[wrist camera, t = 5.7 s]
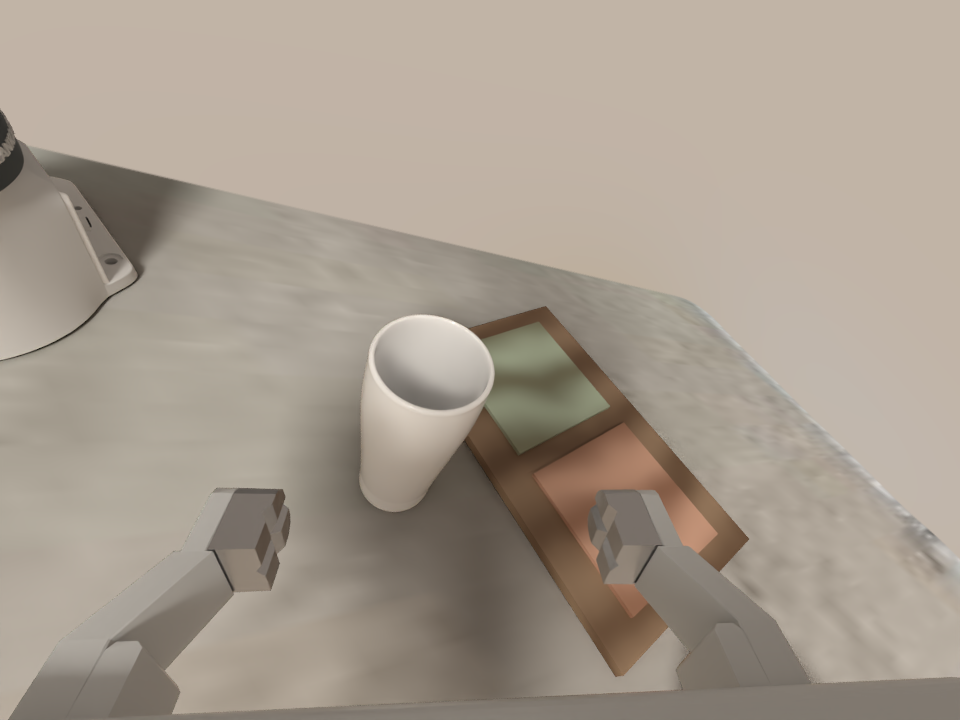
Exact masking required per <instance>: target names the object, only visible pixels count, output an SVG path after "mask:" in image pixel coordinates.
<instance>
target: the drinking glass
mask: <svg viewBox="0 0 960 720" xmlns="http://www.w3.org/2000/svg"><path fill="white" fill-rule="evenodd" d="M494 377H495V369H494V363H493V360H492V357H491V355H490V353H489V351H488V349H487V347H486V346H485V345H484V343H483V342H482V341H481V340H480V339H479V338H478V337H477V336H476V335H475V334H474V333H473V332H472V331H470V330H469V329H468V328H466V327H464V326H463V325H461V324H459V323H457V322H455V321H453V320H450V319H447V318H444V317H440V316H435V315H425V314H418V315H410V316H405V317H401V318H398V319H396V320H394V321H392V322H390V323H388V324H387V325H385V326H384V327H383V328H382V329H381V330H380V331H379V332H378V333H377V334H376V336H375V337H374V339H373V341H372V343H371V345H370V349H369V354H368V358H367V362H366V366H365V371H364V376H363V382H362V391H361V404H360V426H361V466H360V472H359V484H360V488H361V491H362V493H363V495H364V496H365V498H366V499H367V500H368V501H369V502H370V503H371V504H372V505H373V506H375V507H376V508H378V509H381V510H383V511H387V512H401V511H405V510H408V509H410V508H412V507H414V506H415V505H417V504H418V503H419V502H420V501H421V500H422V499H423V498H424V496H425V495H426V493H427V491H428V490H429V488H430V486H431V484H432V483H433V482H434V480H435V479H436V477H437V476H438V475H439V473H440V472H441V471H442V469H443V468H444V467H445V465H446V464H447V463H448V461H449V460H450V459H451V457H452V456H453V455H454V454H455V452H456V451H457V450H458V448H459V447H460V446H461V444H462V443H463V441H464V440H465V439H466V437H467V436H468V434H469V433H470V431H471V429H472V428H473V426H474V424H475V423H476V421H477V419H478V417H479V415H480V413H481V411H482V409H483V407H484V405H485V403H486V400H487V398H488V396H489V393H490V391H491V389H492V386H493V383H494Z"/></svg>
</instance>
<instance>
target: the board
mask: <svg viewBox="0 0 960 720" xmlns="http://www.w3.org/2000/svg"><path fill="white" fill-rule="evenodd" d="M468 329H469V330H470V331H472V332H473V333H474V334H475V335H476V336H477V337H478V338H479V339H480V340H481V341H482V342H483V343H484V345H485V346H486V347H487V349H488V351H489V353H490V355H491V357H492V360H493V363H494V369H495V377H494V383H493V386H492V389H491V391H490V393H489V396H488V398H487V400H486V403H485V405H484V407H483V409H482V411H481V413H480V415H479V417H478V419H477V421H476V423H475V424H474V426H473V428H472V429H471V431H470V433H469V434H468V436H467V437H466V439H465V442H466V443H467V445H468V446H469V448H470V450H471V451H472V453H473V454H474V456H475V457H476V459H477V461H478V462H479V464H480V465H481V467H482V468H483V470H484V471H485V473H486V475H487V476H488V478H489V479H490V481H491V482H492V484H493V486H494V487H495V489H496V490H497V492H498V493H499V495H500V497H501V498H502V500H503V501H504V503H505V504H506V506H507V507H508V509H509V511H510V512H511V514H512V515H513V517H514V518H515V520H516V522H517V523H518V525H519V526H520V528H521V529H522V531H523V532H524V534H525V536H526V537H527V539H528V540H529V542H530V543H531V545H532V547H533V548H534V550H535V551H536V553H537V554H538V556H539V558H540V559H541V561H542V562H543V564H544V565H545V567H546V568H547V570H548V572H549V573H550V575H551V576H552V578H553V579H554V581H555V583H556V584H557V586H558V587H559V589H560V590H561V592H562V594H563V595H564V597H565V598H566V600H567V601H568V603H569V604H570V606H571V608H572V609H573V611H574V612H575V614H576V615H577V617H578V619H579V620H580V622H581V623H582V625H583V626H584V628H585V629H586V631H587V633H588V634H589V636H590V637H591V639H592V640H593V642H594V644H595V645H596V647H597V648H598V650H599V651H600V653H601V655H602V656H603V658H604V659H605V661H606V662H607V664H608V665H609V667H610V669H611V670H612V672H613V673H614V675H615V676H616V677H617V676H624V674H625V673H626V672H627V671H628V670H629V669H630V668H631V667H632V666H633V665H634V664H635V663H636V661H637V660H638V659H639V658H640V657H641V656H642V655H643V654H644V653H645V652H646V651H647V650H648V648H649V647H650V646H651V645H652V644H653V643H654V642H655V641H656V640H657V639H658V638H659V636H660V635H661V634H662V633H663V632H664V631H665V630H666V629H667V628H668V625H667V624H666V623H665V622H664V621H663V619H662V618H661V617H660V616H659V615H658V614H657V612H656V611H655V610H654V609H653V608H652V606H651V605H650V604H649V603H648V602H647V600H646V599H645V598H644V597H643V596H642V595H641V593H640V592H639V591H638V590H637V589H636V587H635V584H603V581H602V578H601V574H600V571H599V568H598V564H597V561H596V558H597V556H598V553H599V550H598V549H597V548H596V547H595V546H594V545H593V544H592V543H591V540H590V537H589V532H588V514H589V511H590V509H591V508H592V507H593V506H595V505H596V501H595V496H596V494H597V492H598V491H599V490H622V489H634V490H655V491H656V492H657V493H658V494H659V497H660V499H661V501H662V503H663V505H664V507H665V509H666V511H667V513H668V515H669V517H670V519H671V521H672V523H673V525H674V528H675V530H676V532H677V534H678V536H679V538H680V540H681V542H682V544H683V546H689V547H690V548H692V549H693V550H694V551H695V552H696V553H697V554H699V555H700V556H701V557H702V558H703V559H704V560H706V561H707V562H708V563H709V564H710V565H711V566H713V567H714V568H715V569H716V570H717V571H718V572H719V571H720V570H721V569H722V568H723V567H724V566H725V565H726V564H727V563H728V562H729V561H730V559H731V558H732V557H733V556H734V555H735V554H736V553H737V552H738V551H739V550H740V549H741V548H742V546H743V545H744V544H745V543H746V542H747V541H748V540H749V538H748V537H747V536H746V535H745V534H744V532H743V531H742V530H741V529H740V528H739V527H738V526H737V524H736V523H735V522H734V521H733V520H732V519H731V518H730V516H729V515H728V514H727V513H726V512H725V511H724V510H723V508H722V507H721V506H720V505H719V504H718V503H717V502H716V500H715V499H714V498H713V497H712V496H711V495H710V494H709V492H708V491H707V490H706V489H705V488H704V487H703V486H702V484H701V483H700V482H699V481H698V480H697V479H696V478H695V476H694V475H693V474H692V473H691V472H690V471H689V469H688V468H687V467H686V466H685V465H684V464H683V463H682V461H681V460H680V459H679V458H678V457H677V456H676V455H675V453H674V452H673V451H672V450H671V449H670V448H669V447H668V445H667V444H666V443H665V442H664V441H663V440H662V439H661V437H660V436H659V435H658V434H657V433H656V432H655V431H654V429H653V428H652V427H651V426H650V425H649V424H648V423H647V421H646V420H645V419H644V418H643V417H642V416H641V415H640V413H639V412H638V411H637V410H636V409H635V408H634V407H633V405H632V404H631V403H630V402H629V401H628V400H627V399H626V397H625V396H624V395H623V394H622V393H621V392H620V391H619V389H618V388H617V387H616V386H615V385H614V384H613V383H612V381H611V380H610V379H609V378H608V377H607V376H606V374H605V373H604V372H603V371H602V370H601V369H600V368H599V366H598V365H597V364H596V363H595V362H594V361H593V360H592V358H591V357H590V356H589V355H588V354H587V353H586V352H585V350H584V349H583V348H582V347H581V346H580V345H579V344H578V342H577V341H576V340H575V339H574V338H573V337H572V336H571V334H570V333H569V332H568V331H567V330H566V329H565V328H564V326H563V325H562V324H561V323H560V322H559V321H558V320H557V318H556V317H555V316H554V315H553V314H552V313H551V312H550V310H549V309H548V308H547V307H546V306H545V307H541V308H538V309H534V310H531V311H527V312H524V313H521V314H517V315H514V316H510V317H507V318H503V319H500V320H496V321H493V322H489V323H486V324H482V325H479V326H475V327H472V328H468Z"/></svg>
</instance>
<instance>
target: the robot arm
mask: <svg viewBox="0 0 960 720" xmlns="http://www.w3.org/2000/svg"><path fill="white" fill-rule="evenodd" d="M136 278H137V272H136V270H135V268H134V267H133V265H132V263H131V262H130V261H129V259H128V258H127V256H126V255H125V254H124V252H123V251H122V250H121V248H120V247H119V245H118V244H117V243H116V241H115V240H114V238H113V237H112V236H111V234H110V233H109V231H108V230H107V229H106V227H105V226H104V225H103V223H102V222H101V220H100V219H99V218H98V216H97V215H96V213H95V212H94V211H93V209H92V208H91V207H90V205H89V204H88V202H87V201H86V200H85V198H84V197H83V195H82V194H81V193H80V191H79V190H78V189H77V187H76V186H75V185H74V184H73V183H72V182H71V181H69V180H66V179H62V178H58V177H53V176H48V174H47V173H46V172H45V170H44V169H43V167H42V166H41V165H40V163H39V162H38V160H37V159H36V158H35V156H34V155H33V154H32V152H31V151H30V150H29V148H28V147H27V146H26V144H24V143H23V142H21V141H19V140H17V139H16V138H15V136H14V131H13V129H12V127H11V125H10V123H9V122H8V120H7V118H6V117H5V115H4V113H3V112H2V111H1V110H0V360H4V359H7V358H11V357H15V356H18V355H21V354H24V353H27V352H30V351H33V350H36V349H38V348H41V347H43V346H45V345H48V344H50V343H52V342H54V341H56V340H58V339H60V338H62V337H63V336H65V335H67V334H68V333H70V332H72V331H73V330H74V329H76V328H77V327H79V326H80V325H81V324H83V323H84V322H85V321H86V320H87V319H88V318H89V317H90V316H91V315H92V314H93V313H94V312H95V311H96V309H97V308H98V307H99V306H100V305H101V303H102V302H103V301H104V300H105V299H106V298H108V297H109V296H110V295H112V294H114V293H116V292H118V291H120V290H121V289H123V288H125V287H127V286H128V285H130V284H131V283H133V282H134V281H135V280H136ZM284 500H285V494H284V491H283V489H257V488H216V489H215V490H214V491H213V492H212V493H211V494H210V496H209V498H208V500H207V502H206V503H205V505H204V507H203V509H202V511H201V513H200V515H199V517H198V519H197V521H196V522H195V524H194V526H193V528H192V530H191V532H190V534H189V536H188V538H187V540H186V541H185V543H184V545H183V547H182V549H181V551H173V552H172V553H171V554H170V555H168V556H167V557H166V558H164V559H163V560H162V561H161V562H159V563H158V564H157V565H156V566H154V567H153V568H152V569H150V570H149V571H148V572H147V573H145V574H144V575H143V576H142V577H140V578H139V579H138V580H136V581H135V582H134V583H133V584H131V585H130V586H129V587H128V588H126V589H125V590H124V591H122V592H121V593H120V594H119V595H117V596H116V597H115V598H114V599H112V600H111V601H110V602H108V603H107V604H106V605H105V606H103V607H102V608H101V609H99V610H98V611H97V612H96V613H94V614H93V615H92V616H91V617H89V618H88V619H87V620H85V621H84V622H83V623H82V624H80V625H79V626H78V627H77V628H75V629H74V630H73V631H71V632H70V633H69V634H68V635H66V636H65V637H64V638H63V639H61V640H60V641H59V642H58V644H57V645H56V647H55V648H54V650H53V652H52V653H51V655H50V656H49V658H48V659H47V661H46V662H45V664H44V665H43V667H42V668H41V670H40V672H39V673H38V675H37V676H36V678H35V679H34V681H33V682H32V684H31V685H30V687H29V688H28V690H27V692H26V693H25V695H24V696H23V698H22V699H21V701H20V702H19V704H18V705H17V707H16V708H15V710H14V711H13V713H12V715H11V716H10V718H9V719H8V720H960V678H956V677H944V678H922V679H901V680H880V681H859V682H838V683H818V684H811V682H810V680H809V678H808V677H807V675H806V673H805V671H804V670H803V668H802V666H801V664H800V663H799V661H798V659H797V657H796V656H795V654H794V652H793V650H792V649H791V647H790V645H789V643H788V642H787V640H786V638H785V636H784V635H783V633H782V631H781V629H780V628H779V626H778V624H777V622H776V621H775V620H774V619H773V618H772V617H771V616H770V615H769V614H767V613H766V612H765V611H764V610H763V609H762V608H760V607H759V606H758V605H757V604H756V603H755V602H753V601H752V600H751V599H750V598H749V597H748V596H746V595H745V594H744V593H743V592H742V591H741V590H739V589H738V588H737V587H736V586H735V585H734V584H732V583H731V582H730V581H729V580H728V579H727V578H725V577H724V576H723V575H722V574H721V573H720V572H718V571H717V570H716V569H715V568H714V567H713V566H711V565H710V564H709V563H708V562H707V561H706V560H704V559H703V558H702V557H701V556H700V555H699V554H697V553H696V552H695V551H694V550H693V549H692V548H690V547H689V546H683V544H682V542H681V540H680V538H679V536H678V534H677V532H676V530H675V528H674V525H673V523H672V521H671V519H670V517H669V515H668V513H667V511H666V509H665V507H664V505H663V503H662V501H661V499H660V497H659V494H658V493H657V492H656V491H655V490H634V489H622V490H599V491H598V492H597V494H596V496H595V501H596V505H595V506H593V507H592V508H591V509H590V511H589V514H588V532H589V537H590V540H591V543H592V544H593V545H594V546H595V547H596V548H597V549H598V550H599V553H598V556H597V558H596V561H597V564H598V568H599V571H600V574H601V578H602V581H603V584H635V587H636V589H637V590H638V591H639V592H640V593H641V595H642V596H643V597H644V598H645V599H646V600H647V602H648V603H649V604H650V605H651V606H652V608H653V609H654V610H655V611H656V612H657V614H658V615H659V616H660V617H661V618H662V619H663V621H664V622H665V623H666V624H667V625H668V627H669V628H670V629H671V630H672V631H673V633H674V634H675V635H676V636H677V637H678V638H679V640H680V641H681V642H682V643H683V644H684V646H685V647H686V648H687V649H688V650H689V652H690V653H689V654H688V655H687V657H686V658H685V659H684V660H683V661H682V662H681V663H680V664H679V666H678V668H677V670H676V672H677V674H678V677H679V680H680V683H681V685H682V688H683V690H671V691H650V692H629V693H608V694H587V695H566V696H545V697H524V698H504V699H483V700H462V701H441V702H420V703H399V704H378V705H357V706H336V707H315V708H295V709H274V710H253V711H232V712H211V713H190V714H172V712H173V709H174V707H175V704H176V702H177V699H178V697H179V694H180V690H179V688H178V686H177V684H176V683H175V682H174V681H173V680H172V679H171V678H170V677H169V675H168V674H167V673H166V672H165V670H166V668H167V667H168V666H169V665H170V664H171V663H172V662H173V661H174V660H175V659H176V657H177V656H178V655H179V654H180V653H181V652H182V651H183V650H184V649H185V648H186V647H187V645H188V644H189V643H190V642H191V641H192V640H193V639H194V638H195V637H196V636H197V634H198V633H199V632H200V631H201V630H202V629H203V628H204V627H205V626H206V625H207V623H208V622H209V621H210V620H211V619H212V618H213V617H214V616H215V615H216V614H217V612H218V611H219V610H220V609H221V608H222V607H223V606H224V605H225V604H226V603H227V602H228V600H229V599H230V598H231V597H232V596H233V595H234V593H233V592H251V591H271V589H272V586H273V583H274V580H275V577H276V574H277V571H278V568H279V564H280V563H279V560H278V556H277V553H278V552H280V551H281V550H282V549H283V548H284V547H285V546H286V542H287V539H288V536H289V529H290V512H289V508H287V507H286V506H285V505H283V503H284Z"/></svg>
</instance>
